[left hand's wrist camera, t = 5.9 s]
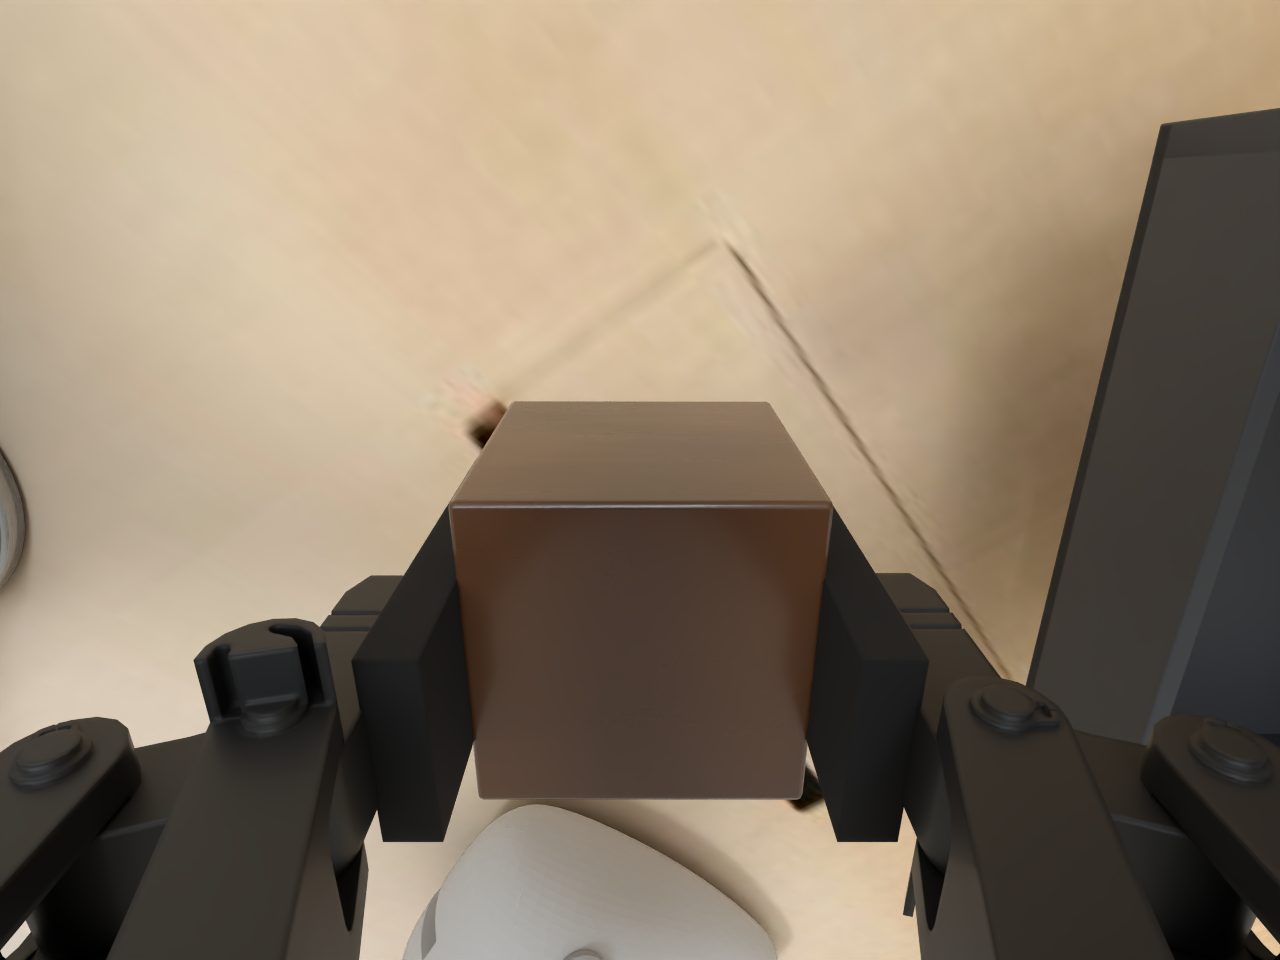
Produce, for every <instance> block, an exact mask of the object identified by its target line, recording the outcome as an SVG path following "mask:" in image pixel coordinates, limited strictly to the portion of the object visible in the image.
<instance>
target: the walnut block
mask: <svg viewBox="0 0 1280 960" xmlns="http://www.w3.org/2000/svg"><path fill="white" fill-rule="evenodd" d="M449 516H450V526H451V536H452V545H453V555H454V564H455V574H456V579H457V586H458V595H459V604H460V614H461V623H462V633H463V642H464V652H465V661H466V671H467V680H468V690H469V699H470V709H471V718H472V728H473V737H474V742H473V747H474V757H475V766H476V776H477V785H478V793H479V796H480V798H482V799H799V798H800V797H801V795H802V790H803V781H804V772H805V763H806V754H807V745H808V744H807V732H808V722H809V713H810V704H811V694H812V685H813V675H814V666H815V657H816V647H817V638H818V628H819V619H820V610H821V600H822V591H823V581H824V580H825V578H826V571H827V562H828V553H829V543H830V534H831V525H832V516H833V504H832V502H831V500H830V499H829V497H828V495H827V494H826V492H825V491H824V489H823V488H822V486H821V484H820V483H819V481H818V480H817V478H816V476H815V475H814V473H813V472H812V470H811V469H810V467H809V465H808V464H807V462H806V461H805V459H804V457H803V456H802V454H801V453H800V451H799V450H798V448H797V446H796V445H795V443H794V442H793V440H792V439H791V437H790V435H789V434H788V432H787V431H786V429H785V427H784V426H783V424H782V423H781V421H780V420H779V418H778V416H777V415H776V413H775V412H774V410H773V408H772V407H771V405H770V404H769V403H767V402H513V403H511V405H510V406H509V408H508V409H507V411H506V413H505V414H504V416H503V418H502V419H501V421H500V422H499V424H498V426H497V427H496V429H495V430H494V432H493V434H492V435H491V437H490V438H489V440H488V442H487V443H486V445H485V447H484V448H483V450H482V451H481V453H480V455H479V456H478V458H477V459H476V461H475V463H474V464H473V466H472V467H471V469H470V471H469V472H468V474H467V475H466V477H465V479H464V480H463V482H462V484H461V485H460V487H459V488H458V490H457V492H456V493H455V495H454V496H453V498H452V500H451V501H450V504H449Z"/></svg>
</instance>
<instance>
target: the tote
mask: <svg viewBox="0 0 1280 960" xmlns="http://www.w3.org/2000/svg"><path fill="white" fill-rule="evenodd" d="M1026 686H1027V687H1029V688H1031V689H1033V690H1036V691H1038V692H1040V693H1041V694H1043V695H1044V696H1045V697H1047V698H1048V699H1050V700H1051V701H1052V702H1054V703H1055V704H1056V705H1058V706H1059V707H1060V709H1061V710H1062V712H1063V713H1064V714H1065V716H1066V717H1067V718H1068V720H1069V721H1070V723H1071V725H1072V728H1073V729H1075V730H1079V731H1083V732H1086V733H1090V734H1094V735H1099V736H1104V737H1109V738H1113V739H1118V740H1123V741H1128V742H1133V743H1137V744H1142V745H1148V742H1149V739H1150V735H1151V732H1152V729H1153V726H1154V725H1155V724H1156V723H1157V722H1159V721H1160V720H1161V719H1162V718H1164V717H1166V716H1173V715H1180V714H1190V715H1198V716H1206V717H1212V718H1216V719H1221V720H1224V721H1225V722H1227V721H1228V722H1231V723H1234V724H1236V725H1239V726H1242V727H1244V728H1245V729H1247V730H1249V731H1251V732H1253V733H1255V734H1257V735H1259V736H1261V737H1263V738H1266V739H1268V740H1269V741H1271V742H1272V743H1273V744H1275V745H1276V746H1278V747H1279V748H1280V108H1277V109H1269V110H1262V111H1255V112H1247V113H1240V114H1232V115H1225V116H1217V117H1210V118H1202V119H1195V120H1187V121H1180V122H1172V123H1165V124H1162V125H1161V127H1160V131H1159V135H1158V139H1157V143H1156V147H1155V152H1154V156H1153V161H1152V165H1151V169H1150V173H1149V177H1148V181H1147V185H1146V190H1145V194H1144V198H1143V202H1142V206H1141V210H1140V214H1139V219H1138V223H1137V227H1136V231H1135V235H1134V239H1133V243H1132V248H1131V252H1130V256H1129V260H1128V264H1127V268H1126V272H1125V277H1124V281H1123V285H1122V289H1121V293H1120V297H1119V301H1118V306H1117V310H1116V314H1115V318H1114V322H1113V326H1112V330H1111V335H1110V339H1109V343H1108V347H1107V351H1106V355H1105V359H1104V364H1103V368H1102V372H1101V376H1100V380H1099V384H1098V388H1097V393H1096V397H1095V401H1094V405H1093V409H1092V413H1091V417H1090V422H1089V426H1088V430H1087V434H1086V438H1085V442H1084V446H1083V451H1082V455H1081V459H1080V463H1079V467H1078V471H1077V475H1076V480H1075V484H1074V488H1073V492H1072V496H1071V500H1070V504H1069V509H1068V513H1067V517H1066V521H1065V525H1064V529H1063V533H1062V538H1061V542H1060V546H1059V550H1058V554H1057V558H1056V562H1055V567H1054V571H1053V575H1052V579H1051V583H1050V587H1049V591H1048V596H1047V600H1046V604H1045V608H1044V612H1043V616H1042V620H1041V625H1040V629H1039V633H1038V637H1037V641H1036V645H1035V649H1034V654H1033V658H1032V662H1031V666H1030V670H1029V674H1028V678H1027V683H1026Z"/></svg>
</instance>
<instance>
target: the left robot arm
mask: <svg viewBox="0 0 1280 960" xmlns="http://www.w3.org/2000/svg"><path fill="white" fill-rule="evenodd" d="M474 463H475V462H474ZM472 466H473V465H472ZM469 471H470V470H469ZM467 474H468V473H467ZM464 479H465V478H464ZM462 482H463V481H462ZM461 484H462V483H461ZM459 487H460V486H459ZM457 490H458V489H457ZM456 492H457V491H456ZM454 495H455V494H454ZM452 498H453V497H452ZM451 500H452V499H451ZM449 504H450V502H449ZM449 504H448V506H447V507H446V509H445V510H444V512H443V514H442V515H441V517H440V518H439V520H438V522H437V523H436V525H435V526H434V528H433V530H432V531H431V533H430V534H429V536H428V538H427V539H426V541H425V542H424V544H423V546H422V547H421V549H420V551H419V552H418V554H417V555H416V557H415V559H414V560H413V562H412V563H411V565H410V567H409V568H408V570H407V571H406V573H405V575H404V576H370V577H368V578H367V579H365V580H364V581H362V582H361V583H359V584H357V585H356V586H354V587H353V588H351V589H350V590H348V591H347V592H346V593H345V594H344V595H343V597H342V598H341V599H340V601H339V602H338V603H337V605H336V606H335V607H334V609H333V610H332V614H331V615H328V617H327V618H326V620H325V621H324V622H323V624H322V625H321V626H320V627H319V626H317V625H316V624H315V623H314V622H310V621H305V620H301V619H297V618H291V619H271V620H267V621H262V622H257V623H253V624H248V625H246V626H243V627H241V628H238V629H236V630H233V631H231V632H228V633H226V634H224V635H222V636H221V637H219V638H218V639H216V640H214V641H213V642H211V643H210V644H208V645H207V646H205V647H204V649H203V650H202V651H201V652H200V653H199V654H198V655H197V657H196V658H195V659H194V664H195V667H196V671H197V675H198V678H199V682H200V686H201V690H202V693H203V697H204V701H205V704H206V708H207V712H208V715H209V719H210V724H209V727H208V729H207V731H206V733H202V734H198V735H195V736H191V737H187V738H182V739H177V740H172V741H168V742H163V743H158V744H153V745H149V746H144V747H139V748H134V746H133V743H132V739H131V736H130V733H129V730H128V728H127V727H126V726H124V725H123V724H122V723H120V722H119V721H118V720H115V719H108V718H101V717H93V718H85V719H77V720H70V721H66V722H62V723H58V724H57V725H55V724H54V725H52V726H49V727H46V728H43V729H41V730H39V731H37V732H35V733H33V734H31V735H29V736H27V737H25V738H23V739H21V740H19V741H17V742H15V743H13V744H12V745H10V746H9V747H7V748H6V749H5V750H3V751H2V752H0V950H1V949H2V948H3V947H4V945H5V944H6V943H7V942H8V941H9V939H10V938H11V937H12V936H13V935H14V933H15V932H16V931H17V930H18V929H19V927H20V926H21V925H22V924H23V923H24V921H25V920H26V921H27V924H28V926H29V928H30V931H31V933H30V934H29V935H28V936H27V938H26V939H25V940H24V941H23V943H22V944H21V945H20V946H19V947H18V948H17V949H16V950H15V951H14V952H13V953H12V954H10V955H9V956H8V957H7V958H6V959H5V958H4V957H3V956H2V954H1V952H0V960H359V954H360V945H361V936H362V926H363V917H364V908H365V898H366V889H367V880H368V871H369V870H368V863H367V856H366V851H365V845H364V839H365V836H366V834H367V832H368V829H369V827H370V825H371V822H372V820H373V818H374V815H375V813H376V811H378V816H379V822H380V828H381V833H382V839H383V842H443V841H444V837H445V834H446V831H447V827H448V824H449V821H450V818H451V814H452V811H453V808H454V804H455V801H456V798H457V795H458V791H459V788H460V785H461V781H462V778H463V775H464V772H465V768H466V765H467V762H468V758H469V755H470V752H471V749H472V745H473V742H474V737H473V728H472V718H471V709H470V699H469V690H468V680H467V671H466V661H465V652H464V642H463V633H462V623H461V614H460V604H459V595H458V586H457V579H456V574H455V564H454V555H453V545H452V536H451V526H450V516H449ZM24 536H25V521H24V512H23V506H22V501H21V498H20V494H19V491H18V488H17V485H16V483H15V480H14V478H13V475H12V473H11V471H10V469H9V467H8V465H7V463H6V461H5V460H4V458H3V456H2V455H1V453H0V588H2V586H3V585H4V584H5V583H6V582H7V581H8V580H9V578H10V577H11V575H12V574H13V572H14V570H15V568H16V566H17V564H18V562H19V559H20V556H21V553H22V550H23V544H24ZM807 744H808V747H809V750H810V754H811V757H812V760H813V763H814V767H815V770H816V773H817V777H818V780H819V783H820V786H821V790H822V793H823V796H824V800H825V803H826V806H827V809H828V813H829V816H830V819H831V822H832V826H833V829H834V832H835V836H836V839H837V842H898V836H899V831H900V825H901V819H902V814H903V808H905V811H906V813H907V815H908V818H909V820H910V822H911V825H912V827H913V829H914V831H915V834H916V836H917V840H916V845H915V851H914V856H913V861H912V867H911V872H910V877H909V882H908V888H907V893H906V898H905V905H904V911H903V915H906V916H911V917H913V912H914V907H915V906H916V915H917V925H918V934H919V943H920V952H921V960H1280V954H1279V955H1278V956H1275V955H1274V954H1273V953H1272V952H1271V951H1269V950H1268V949H1267V948H1266V947H1265V946H1264V945H1263V944H1262V942H1261V941H1260V940H1259V939H1258V938H1257V936H1256V935H1255V934H1254V933H1253V931H1252V930H1251V928H1252V926H1253V923H1254V921H1255V919H1256V917H1257V918H1258V919H1259V920H1260V921H1261V922H1262V924H1263V925H1264V926H1265V927H1266V928H1267V930H1268V931H1269V932H1270V933H1271V934H1272V936H1273V937H1274V938H1275V939H1276V940H1277V941H1278V943H1279V944H1280V748H1279V747H1278V746H1276V745H1275V744H1273V743H1272V742H1271V741H1269V740H1268V739H1266V738H1263V737H1261V736H1259V735H1257V734H1255V733H1253V732H1251V731H1249V730H1247V729H1245V728H1244V727H1242V726H1239V725H1236V724H1234V723H1231V722H1228V721H1227V722H1225V721H1224V720H1221V719H1216V718H1212V717H1206V716H1198V715H1190V714H1180V715H1173V716H1166V717H1164V718H1162V719H1161V720H1160V721H1159V722H1157V723H1156V724H1155V725H1154V726H1153V729H1152V732H1151V735H1150V739H1149V742H1148V745H1142V744H1137V743H1133V742H1128V741H1123V740H1118V739H1113V738H1109V737H1104V736H1099V735H1094V734H1090V733H1086V732H1083V731H1079V730H1075V729H1073V728H1072V725H1071V723H1070V721H1069V720H1068V718H1067V717H1066V716H1065V714H1064V713H1063V712H1062V710H1061V709H1060V707H1059V706H1058V705H1056V704H1055V703H1054V702H1052V701H1051V700H1050V699H1048V698H1047V697H1045V696H1044V695H1043V694H1041V693H1040V692H1038V691H1036V690H1033V689H1031V688H1029V687H1027V686H1025V685H1022V684H1020V683H1018V682H1014V681H1010V680H1006V679H1002V678H1001V677H1000V676H999V674H998V673H997V672H996V670H995V669H994V668H993V666H992V665H991V664H990V662H989V661H988V660H987V658H986V657H985V656H984V654H983V653H982V652H981V650H980V649H979V648H978V646H977V645H976V644H975V642H974V641H973V640H972V638H971V637H970V636H969V634H968V633H967V632H966V630H965V629H962V628H961V624H960V622H959V621H958V620H957V618H956V617H955V616H954V614H953V613H950V612H949V608H948V606H947V605H946V604H945V602H944V601H943V600H942V598H941V597H940V596H939V594H938V593H937V592H936V590H935V589H933V588H932V587H930V586H928V585H927V584H925V583H924V582H922V581H921V580H919V579H918V578H916V577H915V576H913V575H912V574H910V573H875V572H874V571H873V569H872V567H871V566H870V564H869V563H868V561H867V559H866V558H865V556H864V555H863V553H862V551H861V550H860V548H859V546H858V545H857V543H856V542H855V540H854V538H853V537H852V535H851V534H850V532H849V530H848V529H847V527H846V526H845V524H844V522H843V521H842V519H841V518H840V516H839V514H838V513H837V511H836V510H835V508H834V506H833V516H832V525H831V534H830V543H829V553H828V562H827V571H826V578H825V580H824V581H823V591H822V600H821V610H820V619H819V628H818V638H817V647H816V657H815V666H814V675H813V685H812V694H811V704H810V713H809V722H808V732H807Z"/></svg>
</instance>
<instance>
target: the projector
mask: <svg viewBox="0 0 1280 960" xmlns="http://www.w3.org/2000/svg"><path fill="white" fill-rule="evenodd" d="M402 960H778V959H777V954H776V950H775V947H774V944H773V942H772V940H771V938H770V937H769V935H768V934H767V932H766V931H765V930H764V929H763V928H762V927H761V926H760V925H759V924H758V923H757V922H756V921H755V920H754V919H753V918H752V917H751V916H750V915H749V914H748V913H746V912H745V911H744V910H743V909H742V908H740V907H739V906H738V905H737V904H736V903H734V902H733V901H732V900H731V899H729V898H728V897H727V896H726V895H724V894H723V893H722V892H720V891H719V890H718V889H716V888H715V887H713V886H712V885H711V884H709V883H708V882H706V881H705V880H704V879H702V878H701V877H699V876H698V875H696V874H695V873H693V872H692V871H690V870H688V869H687V868H685V867H684V866H682V865H681V864H679V863H677V862H675V861H674V860H672V859H670V858H669V857H667V856H665V855H664V854H662V853H660V852H658V851H656V850H654V849H653V848H651V847H649V846H647V845H645V844H643V843H641V842H639V841H638V840H635V839H633V838H631V837H629V836H627V835H625V834H623V833H621V832H619V831H617V830H615V829H613V828H611V827H608V826H606V825H604V824H602V823H599V822H597V821H595V820H593V819H590V818H587V817H585V816H582V815H580V814H577V813H574V812H571V811H568V810H565V809H562V808H558V807H553V806H548V805H539V804H533V805H525V806H521V807H518V808H515V809H513V810H511V811H508V812H507V813H505V814H503V815H502V816H500V817H498V818H497V819H495V820H494V821H493V822H492V823H490V824H489V825H488V826H487V827H486V828H485V829H484V830H483V831H482V832H481V833H480V834H479V835H478V836H477V837H476V838H475V840H474V841H473V842H472V843H471V845H470V846H469V847H468V848H467V849H466V851H465V852H464V853H463V855H462V856H461V857H460V859H459V860H458V861H457V863H456V864H455V866H454V867H453V869H452V870H451V871H450V873H449V874H448V876H447V877H446V879H445V881H444V883H443V885H442V887H441V889H440V890H439V891H438V892H437V893H436V894H435V895H434V897H433V898H432V900H431V901H430V903H429V904H428V906H427V907H426V909H425V910H424V912H423V913H422V915H421V917H420V918H419V920H418V922H417V924H416V926H415V928H414V929H413V931H412V933H411V936H410V938H409V940H408V943H407V946H406V949H405V952H404V955H403V959H402Z"/></svg>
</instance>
